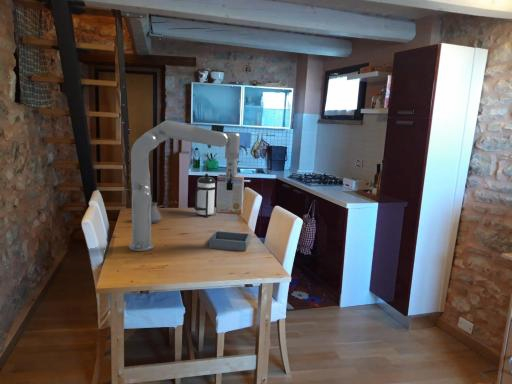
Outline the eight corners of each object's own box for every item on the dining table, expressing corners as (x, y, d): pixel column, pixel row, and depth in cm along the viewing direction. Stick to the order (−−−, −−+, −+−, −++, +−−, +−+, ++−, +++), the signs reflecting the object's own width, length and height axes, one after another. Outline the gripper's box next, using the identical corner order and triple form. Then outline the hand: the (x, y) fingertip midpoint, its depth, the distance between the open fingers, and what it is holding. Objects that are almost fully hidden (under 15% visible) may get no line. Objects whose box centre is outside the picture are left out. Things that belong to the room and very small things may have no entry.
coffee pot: (141, 223, 253) (141, 200, 251) (145, 219, 265) (146, 197, 262) (174, 225, 254) (175, 202, 251) (178, 221, 265) (178, 199, 262)
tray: (245, 251, 213) (246, 242, 212) (208, 247, 215) (209, 238, 214) (249, 242, 228) (249, 233, 227) (215, 239, 230) (215, 230, 229)
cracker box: (242, 212, 222) (244, 175, 218) (241, 215, 216) (243, 177, 212) (217, 210, 223) (219, 173, 219) (215, 213, 217) (217, 175, 213)
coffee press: (192, 212, 290) (194, 171, 285) (214, 212, 293) (216, 172, 288) (193, 218, 273) (194, 175, 268) (216, 218, 276) (218, 176, 271)
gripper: (236, 157, 205) (234, 192, 208) (241, 155, 222) (239, 187, 225) (222, 156, 206) (220, 191, 209) (227, 154, 223) (226, 186, 226)
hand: (230, 188), depth 217 cm, fingers closed on cracker box, 5 cm apart
